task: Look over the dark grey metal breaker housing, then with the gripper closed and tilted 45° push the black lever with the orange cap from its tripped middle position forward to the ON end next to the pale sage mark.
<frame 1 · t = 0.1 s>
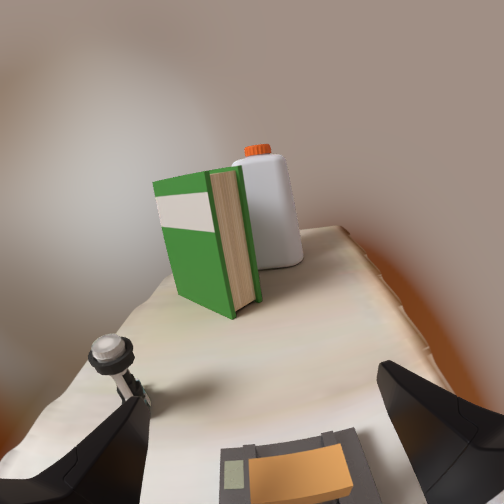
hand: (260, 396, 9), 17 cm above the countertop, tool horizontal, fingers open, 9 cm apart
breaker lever: (300, 501, 10), point 7 cm above the countertop, slide at 3.0 cm
plastic bottle: (273, 259, 70), on the countertop
hardback book: (216, 298, 54), on the countertop
push button: (140, 404, 28), on the countertop
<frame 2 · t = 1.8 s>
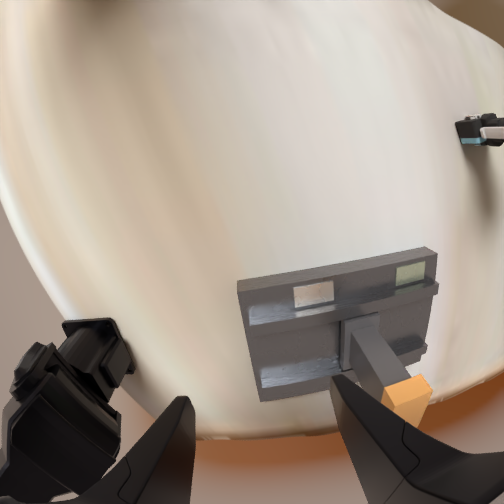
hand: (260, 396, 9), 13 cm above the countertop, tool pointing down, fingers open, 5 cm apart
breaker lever: (379, 373, 17), point 7 cm above the countertop, slide at 3.0 cm
push button: (472, 129, 18), on the countertop
breaker housing: (343, 324, 23), on the countertop
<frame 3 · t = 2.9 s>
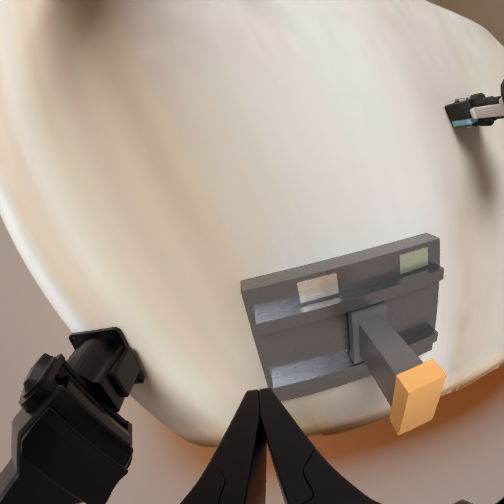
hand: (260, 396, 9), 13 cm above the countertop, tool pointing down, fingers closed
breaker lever: (390, 363, 16), point 7 cm above the countertop, slide at 3.0 cm
push button: (463, 111, 18), on the countertop
breaker housing: (350, 318, 23), on the countertop
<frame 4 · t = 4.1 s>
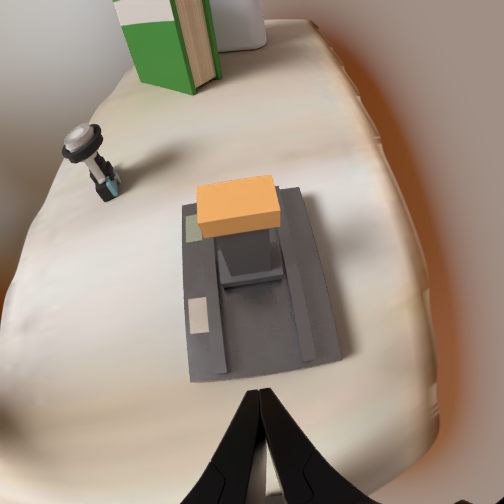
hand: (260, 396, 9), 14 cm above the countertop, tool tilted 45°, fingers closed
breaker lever: (244, 239, 19), point 7 cm above the countertop, slide at 3.0 cm
plastic bottle: (235, 43, 53), on the countertop
hardback book: (178, 79, 45), on the countertop
push button: (112, 184, 33), on the countertop
breaker housing: (253, 282, 25), on the countertop
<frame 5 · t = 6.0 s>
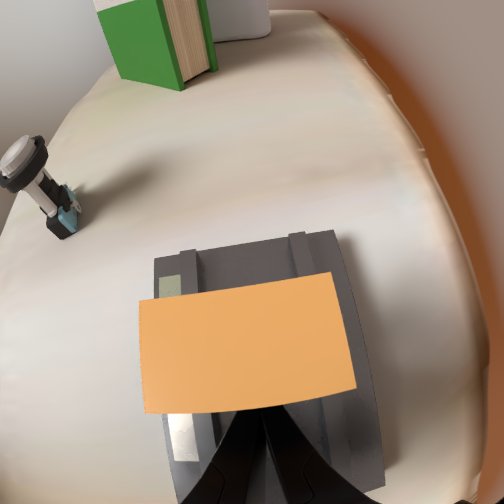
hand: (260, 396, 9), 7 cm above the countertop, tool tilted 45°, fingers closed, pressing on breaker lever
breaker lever: (254, 363, 10), point 7 cm above the countertop, slide at 3.1 cm, touching gripper
plastic bottle: (234, 33, 44), on the countertop
hardback book: (164, 73, 36), on the countertop
push button: (71, 214, 23), on the countertop
breaker housing: (264, 381, 16), on the countertop
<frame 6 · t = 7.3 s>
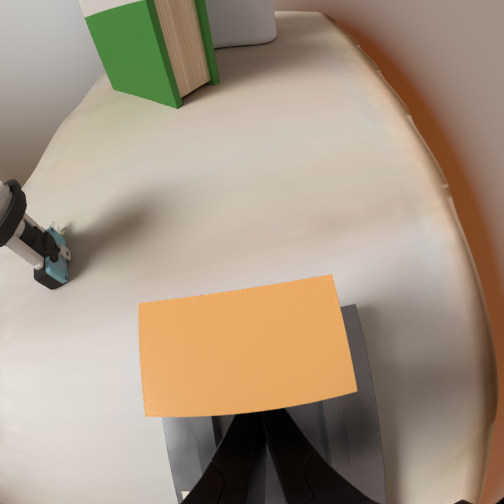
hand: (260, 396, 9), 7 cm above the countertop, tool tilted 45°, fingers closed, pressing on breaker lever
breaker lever: (255, 364, 10), point 7 cm above the countertop, slide at 8.3 cm, touching gripper
plastic bottle: (236, 37, 41), on the countertop
hardback book: (160, 85, 33), on the countertop
push button: (61, 258, 21), on the countertop
breaker housing: (276, 456, 13), on the countertop
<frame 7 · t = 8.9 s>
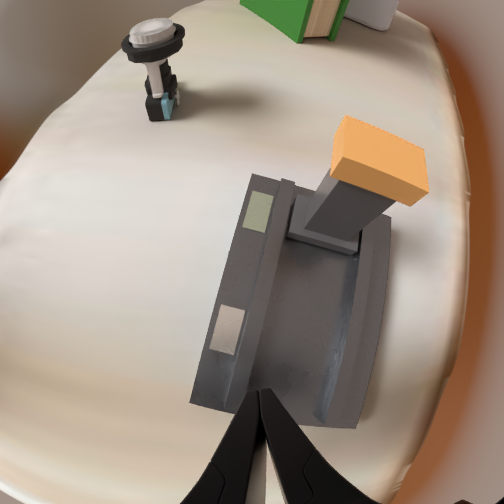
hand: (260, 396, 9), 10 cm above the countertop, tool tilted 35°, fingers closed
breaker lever: (349, 198, 15), point 7 cm above the countertop, slide at 8.1 cm
plastic bottle: (354, 13, 38), on the countertop
hardback book: (283, 19, 33), on the countertop
push button: (166, 102, 25), on the countertop
breaker housing: (300, 305, 20), on the countertop
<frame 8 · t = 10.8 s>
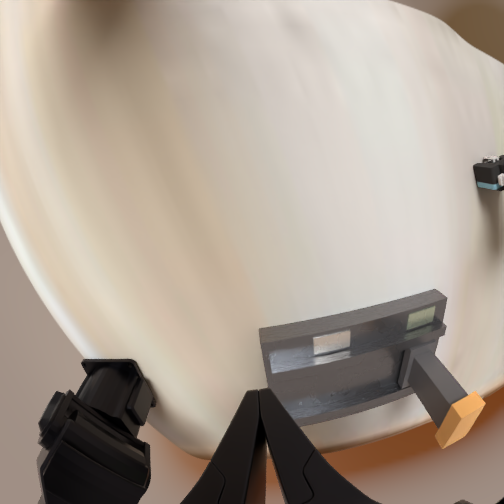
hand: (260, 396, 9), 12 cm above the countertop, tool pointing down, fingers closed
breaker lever: (438, 391, 17), point 7 cm above the countertop, slide at 8.1 cm
push button: (488, 169, 18), on the countertop
breaker housing: (355, 361, 24), on the countertop
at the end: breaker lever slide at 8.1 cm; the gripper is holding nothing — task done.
